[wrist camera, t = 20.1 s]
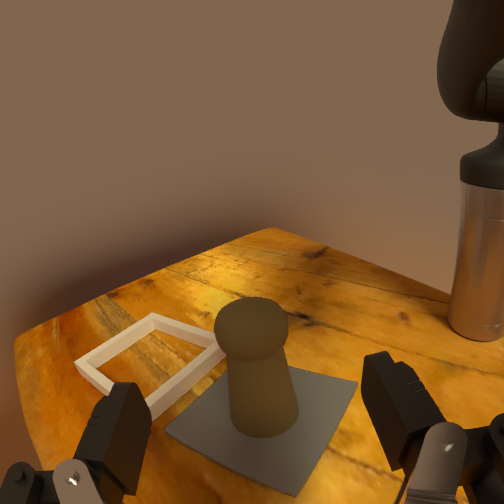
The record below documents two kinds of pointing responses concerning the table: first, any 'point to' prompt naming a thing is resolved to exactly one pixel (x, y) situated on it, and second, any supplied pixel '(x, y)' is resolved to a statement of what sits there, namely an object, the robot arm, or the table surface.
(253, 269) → the table surface
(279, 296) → the table surface
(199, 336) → the white square frame
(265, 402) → the cork
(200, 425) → the mat
